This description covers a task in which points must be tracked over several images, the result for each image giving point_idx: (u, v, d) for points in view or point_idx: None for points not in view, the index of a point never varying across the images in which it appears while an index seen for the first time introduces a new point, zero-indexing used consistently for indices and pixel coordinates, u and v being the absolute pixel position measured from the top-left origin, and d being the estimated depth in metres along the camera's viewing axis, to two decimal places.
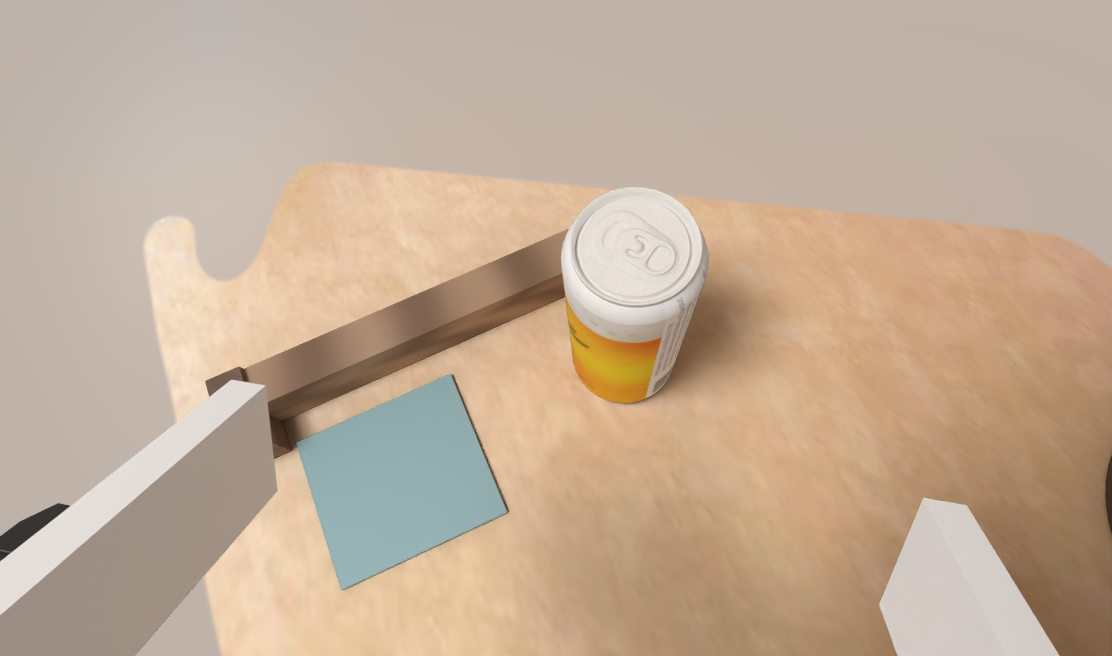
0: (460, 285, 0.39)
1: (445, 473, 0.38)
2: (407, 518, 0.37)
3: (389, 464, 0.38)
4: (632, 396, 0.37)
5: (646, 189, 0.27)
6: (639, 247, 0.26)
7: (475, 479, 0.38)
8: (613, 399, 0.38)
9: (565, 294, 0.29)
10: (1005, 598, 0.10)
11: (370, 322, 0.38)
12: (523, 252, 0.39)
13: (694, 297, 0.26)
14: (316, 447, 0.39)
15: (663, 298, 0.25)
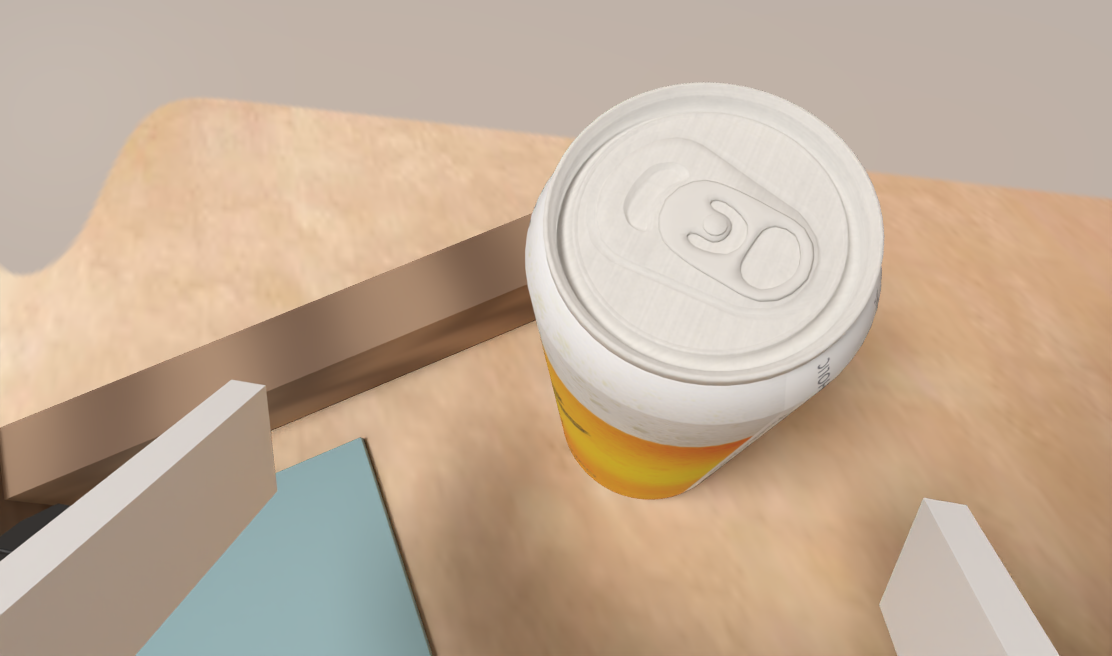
0: (374, 293, 0.23)
1: (340, 612, 0.22)
2: None
3: (247, 593, 0.23)
4: (662, 494, 0.21)
5: (734, 87, 0.11)
6: (720, 228, 0.10)
7: (390, 626, 0.22)
8: (629, 495, 0.22)
9: None
10: (1005, 598, 0.10)
11: (218, 353, 0.22)
12: (482, 239, 0.23)
13: (852, 356, 0.11)
14: None
15: (787, 364, 0.09)
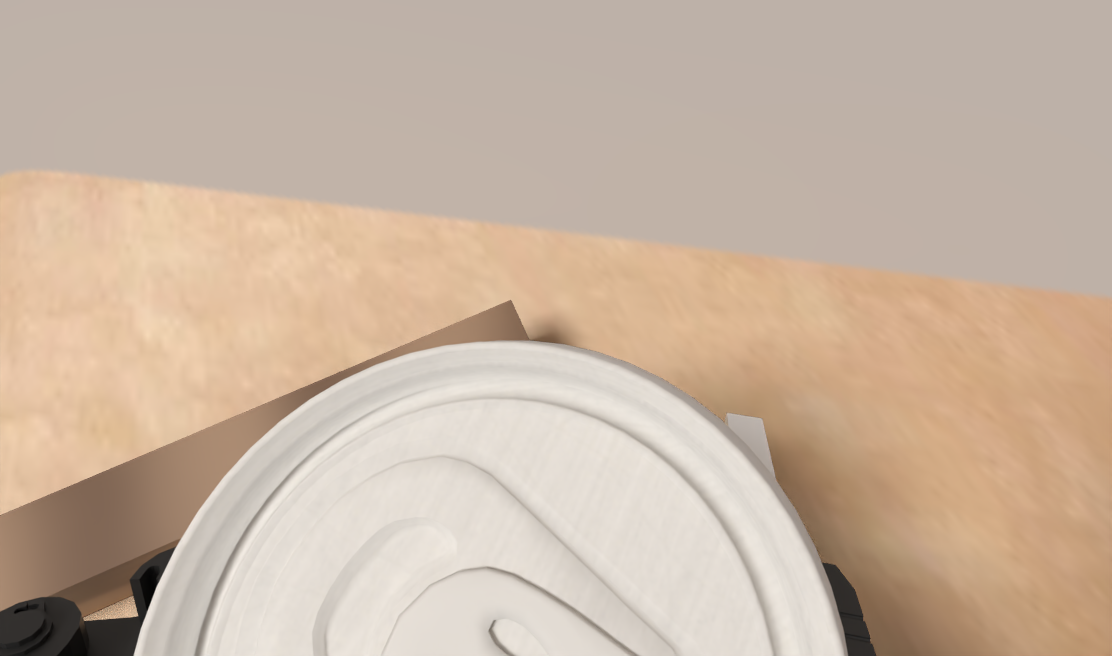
0: (195, 455, 0.17)
1: None
2: None
3: None
4: None
5: (556, 353, 0.06)
6: None
7: None
8: None
9: None
10: None
11: None
12: None
13: None
14: None
15: None
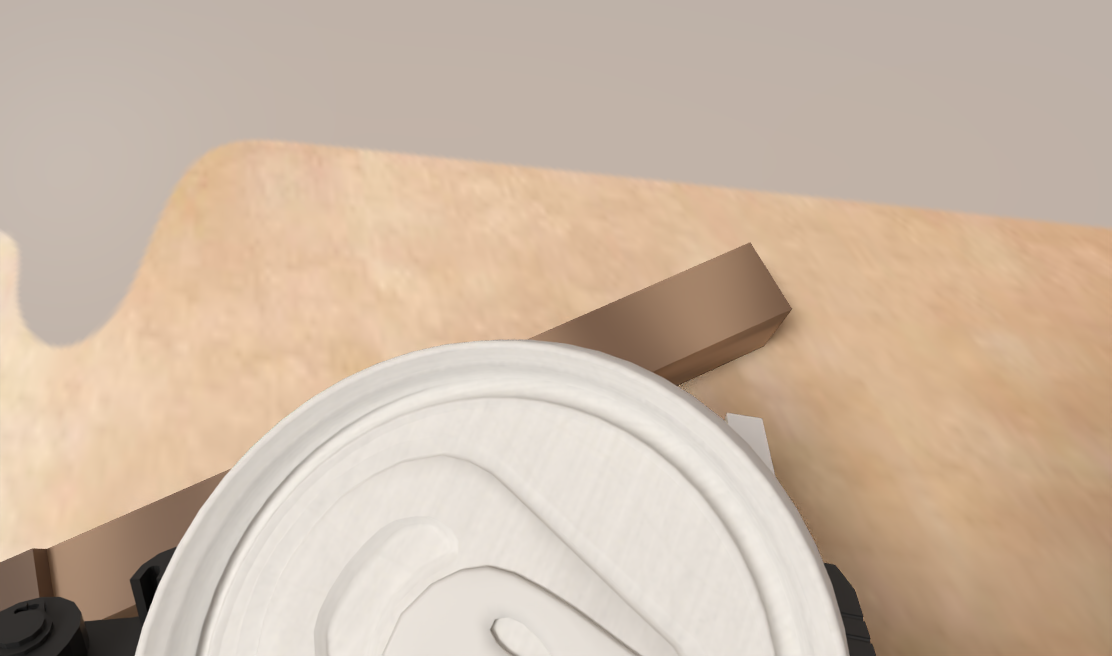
0: None
1: None
2: None
3: None
4: None
5: (558, 352, 0.06)
6: None
7: None
8: None
9: None
10: None
11: None
12: (609, 312, 0.20)
13: None
14: None
15: None
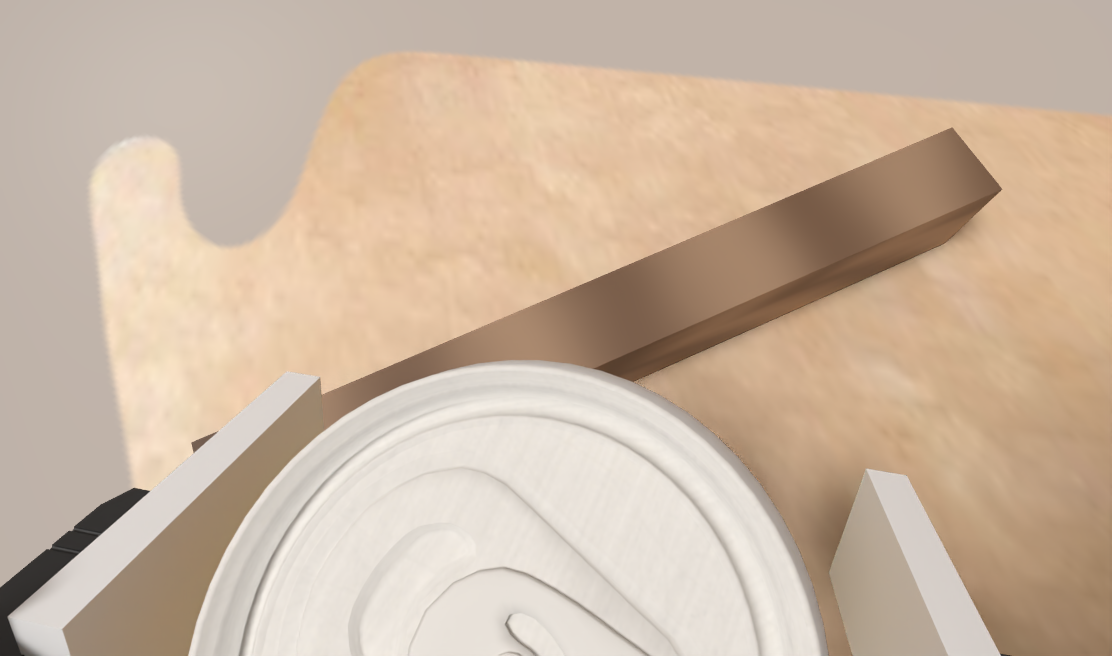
0: (700, 254, 0.20)
1: None
2: None
3: None
4: None
5: (564, 376, 0.06)
6: None
7: None
8: None
9: None
10: (931, 557, 0.11)
11: (525, 325, 0.19)
12: (817, 192, 0.20)
13: None
14: None
15: None
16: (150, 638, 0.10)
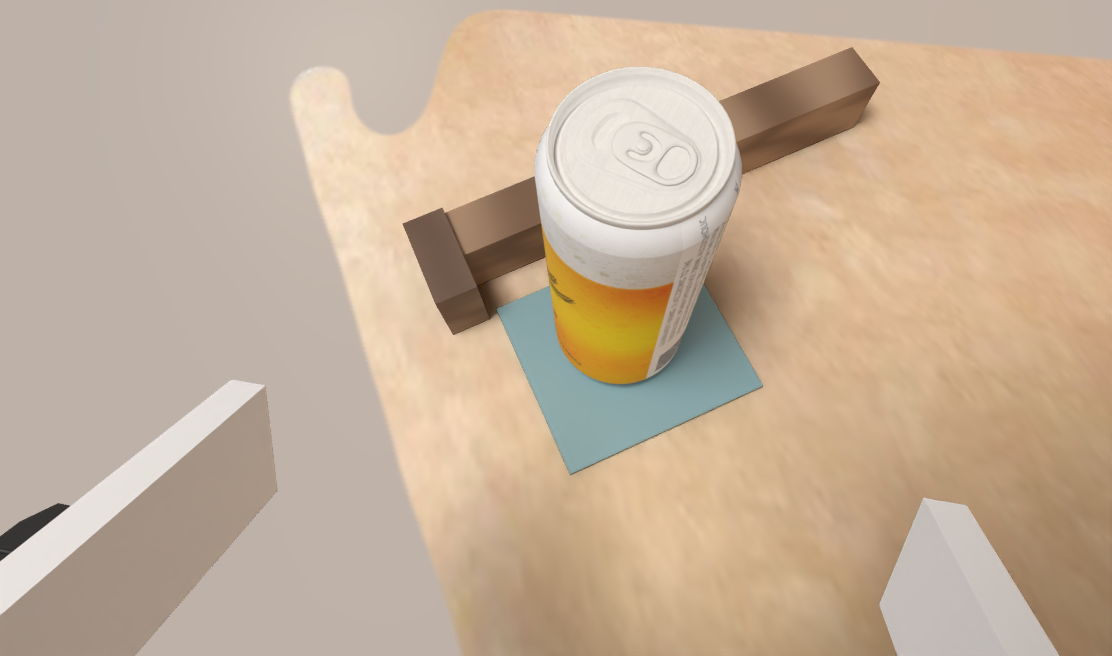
0: None
1: (682, 342, 0.32)
2: (641, 392, 0.31)
3: None
4: (630, 374, 0.29)
5: (655, 69, 0.19)
6: (645, 147, 0.18)
7: (719, 349, 0.32)
8: (605, 379, 0.30)
9: (541, 224, 0.21)
10: (1005, 598, 0.10)
11: None
12: (768, 85, 0.33)
13: (722, 220, 0.19)
14: (521, 314, 0.33)
15: (679, 216, 0.17)
16: None
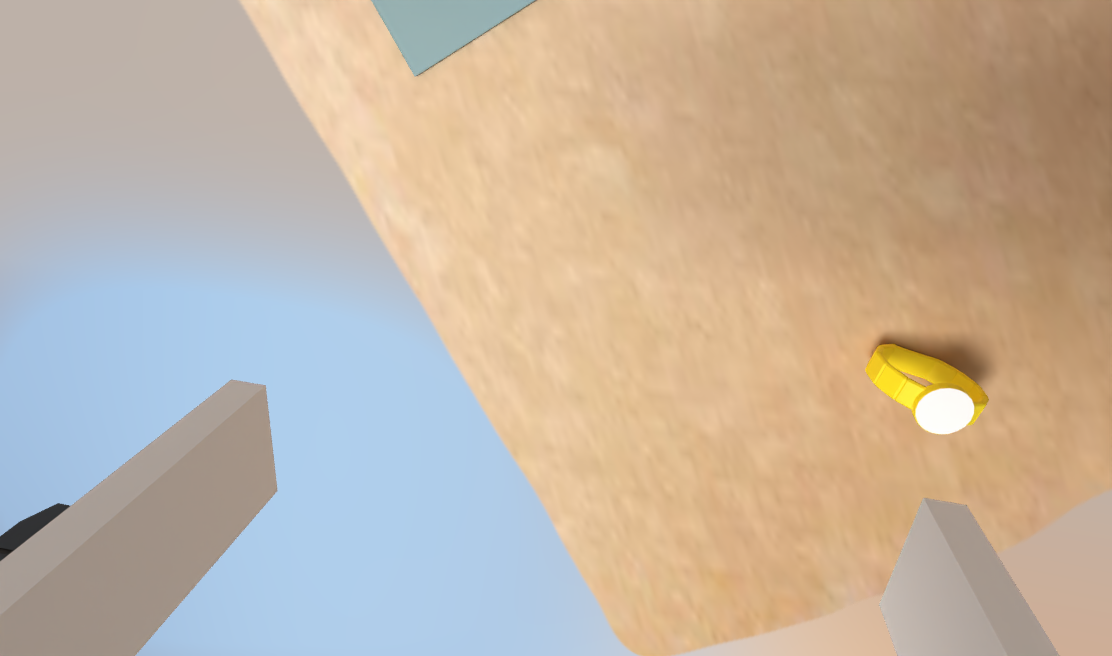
0: None
1: None
2: None
3: None
4: None
5: None
6: None
7: None
8: None
9: None
10: (1005, 598, 0.10)
11: None
12: None
13: None
14: None
15: None
16: None
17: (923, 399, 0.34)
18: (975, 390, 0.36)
